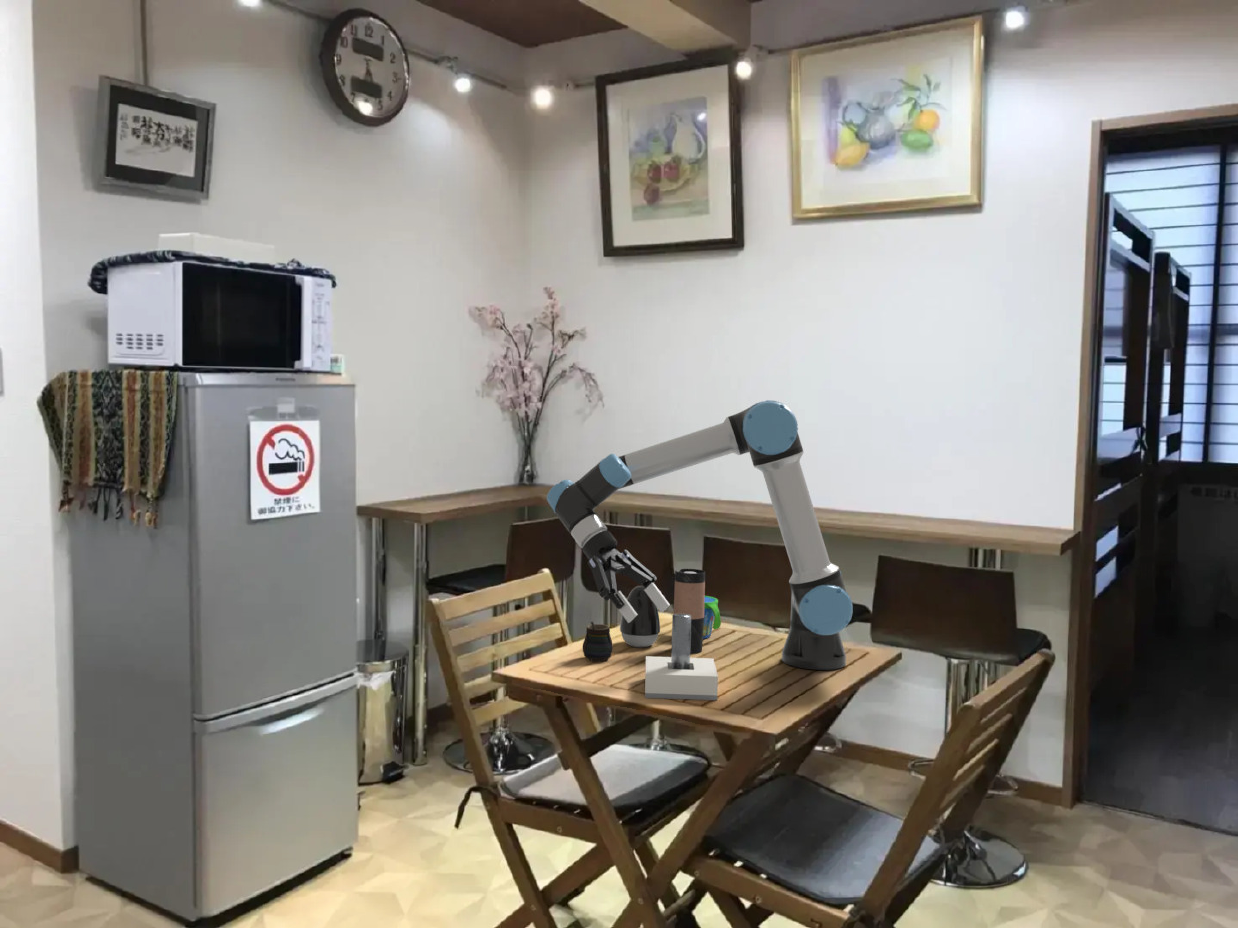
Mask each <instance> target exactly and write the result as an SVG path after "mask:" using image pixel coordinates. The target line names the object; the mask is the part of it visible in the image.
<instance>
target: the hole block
mask: <svg viewBox="0 0 1238 928" xmlns="http://www.w3.org/2000/svg"><path fill="white" fill-rule="evenodd" d="M644 677H645V679H644V680H645V682H644V685H645V686H644V698H645V699H667V700H668V699H669V700H671V699H673V700H694V701H695V700H698V701H699V700H700V701H718V691H719V690H718V689H719V688H718V686H719V676H718V671H717V667H716V662H715V659H714V658H707V657H705V658H704V657H690V670H683V669H671V656H649V655H648V656H647V655H646V656H645V675H644Z"/></svg>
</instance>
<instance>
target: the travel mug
mask: <svg viewBox="0 0 1238 928" xmlns="http://www.w3.org/2000/svg"><path fill="white" fill-rule="evenodd" d="M705 589H706V572H705V570H703V569H699V568H698V569H697V568H681V569H680V570H679V571H677V570H675V571H674V592H673V593H674V594H673V596H674V598H673V614H679V613H682V614H689V615H691V641H690V655H693V654H699V653H702V651H703V643H704V642H703V641H704V639H703V628H704V602H705V596H706V594H705V593H706V591H705Z"/></svg>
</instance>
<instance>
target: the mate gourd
mask: <svg viewBox="0 0 1238 928" xmlns="http://www.w3.org/2000/svg"><path fill="white" fill-rule="evenodd" d="M610 628H611V627H610V626H609V625H607V624H603V623H602V624H601V623H594V621H590V624H588V625H587V626H586V633H585V638H584V640H583V643H582V652H583V655H584V657H585V658H586V659H587V660H588V661H592V662H605V661H608V660H609V659H610V658H611V656H612V653H613V651H614V643H613V641H612V638H611V637H612V636H611V634H610V632H611V629H610Z"/></svg>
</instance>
